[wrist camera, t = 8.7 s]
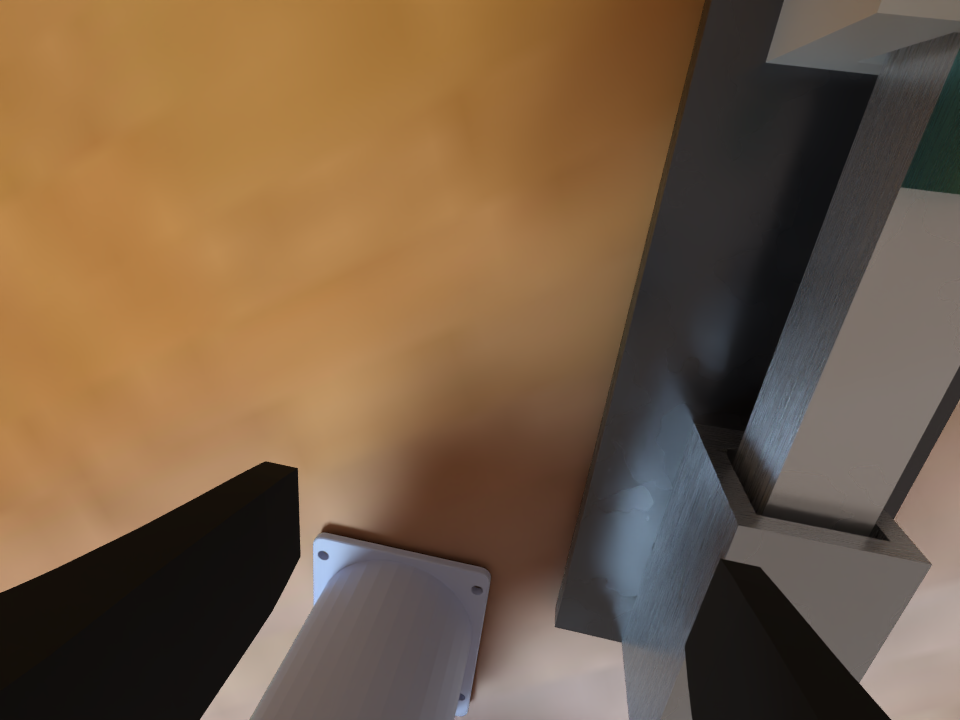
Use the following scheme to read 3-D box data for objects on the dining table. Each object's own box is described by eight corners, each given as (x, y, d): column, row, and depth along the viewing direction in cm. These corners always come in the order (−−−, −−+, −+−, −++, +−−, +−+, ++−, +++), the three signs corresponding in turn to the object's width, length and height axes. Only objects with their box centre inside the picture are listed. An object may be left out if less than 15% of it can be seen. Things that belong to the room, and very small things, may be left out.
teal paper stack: (797, 533, 16) (961, 815, 9) (713, 515, 17) (812, 777, 10) (1080, -78, 10) (2132, -544, 3) (939, -88, 11) (1639, -539, 4)
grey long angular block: (793, 661, 22) (869, 842, 16) (555, 607, 23) (549, 759, 17) (1190, -94, 12) (1758, -318, 6) (736, -128, 13) (864, -345, 7)
